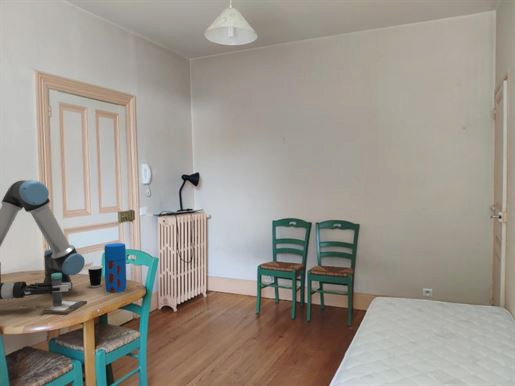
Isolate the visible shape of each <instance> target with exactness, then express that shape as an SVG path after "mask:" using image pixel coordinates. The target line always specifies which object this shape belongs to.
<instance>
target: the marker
mask: <svg viewBox="0 0 515 386" xmlns="http://www.w3.org/2000/svg"><path fill="white" fill-rule="evenodd" d="M61 278H62V273H53V274H51V279H52V288H53V286H62V281H61ZM51 296H52V306H54V307H57V306H61V305H62V301H63V292H53V291H52V294H51Z"/></svg>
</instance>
